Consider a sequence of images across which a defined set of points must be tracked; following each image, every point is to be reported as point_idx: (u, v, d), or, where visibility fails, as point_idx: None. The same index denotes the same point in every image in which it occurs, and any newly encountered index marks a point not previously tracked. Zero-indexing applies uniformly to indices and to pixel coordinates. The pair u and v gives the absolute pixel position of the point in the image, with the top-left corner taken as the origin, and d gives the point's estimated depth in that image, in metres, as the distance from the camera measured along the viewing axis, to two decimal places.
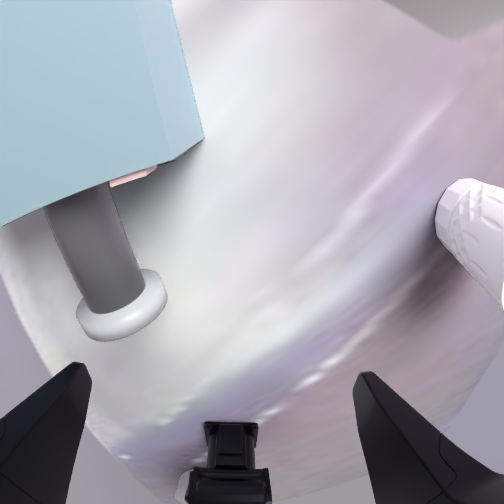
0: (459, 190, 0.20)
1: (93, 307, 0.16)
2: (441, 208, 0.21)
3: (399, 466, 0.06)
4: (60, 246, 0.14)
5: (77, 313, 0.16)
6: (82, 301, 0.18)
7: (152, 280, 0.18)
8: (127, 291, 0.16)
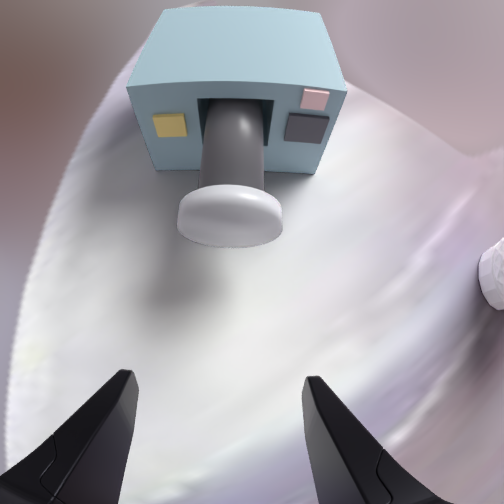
0: (492, 246, 0.23)
1: None
2: (482, 264, 0.23)
3: (336, 479, 0.06)
4: (214, 135, 0.18)
5: None
6: None
7: None
8: None
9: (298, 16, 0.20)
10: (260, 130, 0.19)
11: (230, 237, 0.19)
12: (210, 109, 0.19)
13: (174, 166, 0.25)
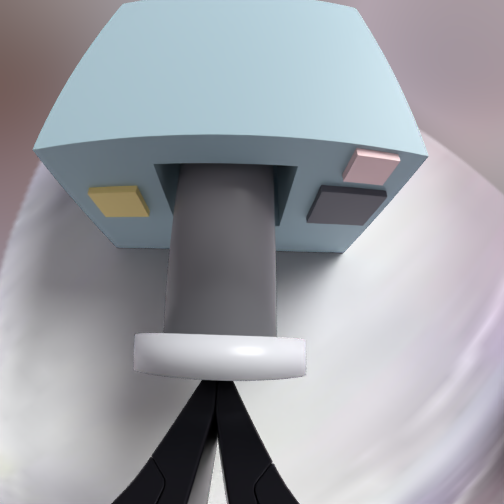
0: None
1: (193, 321, 0.09)
2: None
3: (224, 486, 0.05)
4: (189, 206, 0.10)
5: None
6: None
7: None
8: (267, 317, 0.10)
9: (326, 10, 0.12)
10: (270, 190, 0.12)
11: None
12: None
13: (141, 244, 0.17)
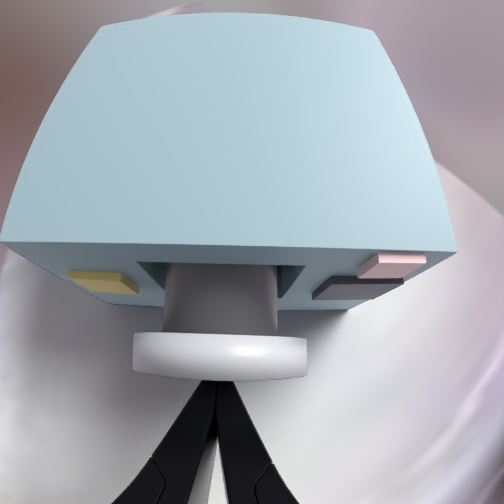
0: None
1: (193, 320, 0.09)
2: None
3: (224, 486, 0.05)
4: None
5: None
6: None
7: None
8: (268, 316, 0.10)
9: (340, 35, 0.11)
10: None
11: None
12: None
13: (134, 303, 0.16)
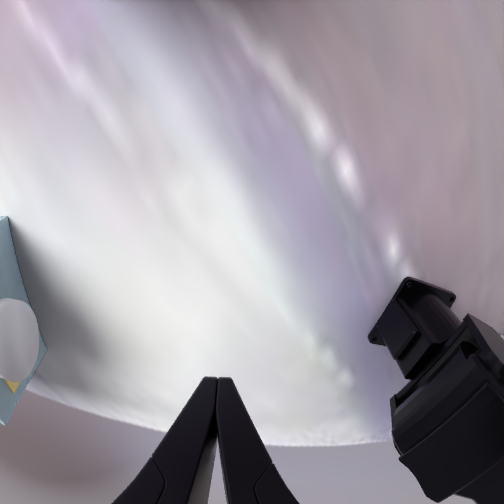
0: None
1: None
2: None
3: (224, 486, 0.05)
4: None
5: None
6: None
7: None
8: None
9: None
10: None
11: (24, 332, 0.17)
12: None
13: (39, 340, 0.23)
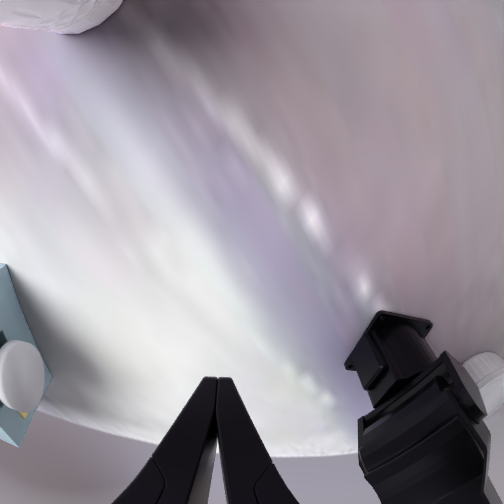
0: None
1: None
2: (58, 32, 0.12)
3: (224, 486, 0.05)
4: None
5: None
6: None
7: None
8: None
9: None
10: None
11: (30, 368, 0.19)
12: None
13: (44, 369, 0.25)
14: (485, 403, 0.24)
